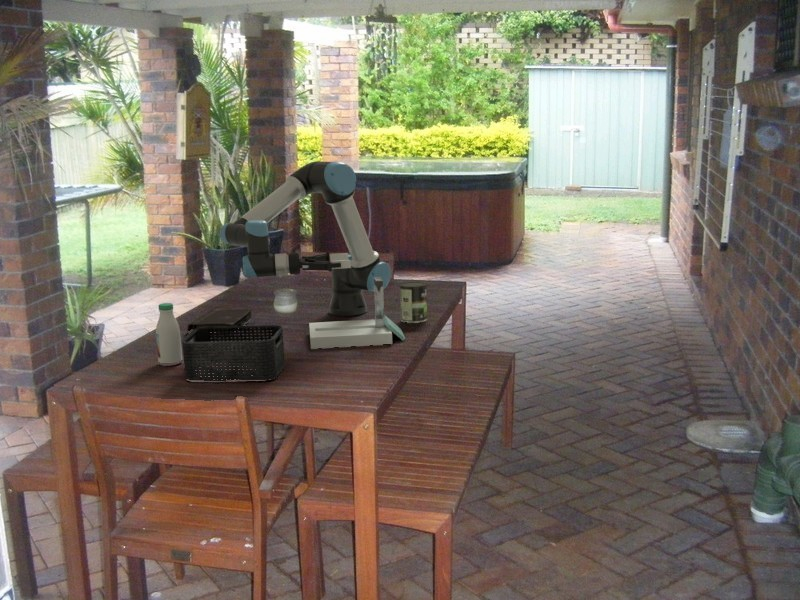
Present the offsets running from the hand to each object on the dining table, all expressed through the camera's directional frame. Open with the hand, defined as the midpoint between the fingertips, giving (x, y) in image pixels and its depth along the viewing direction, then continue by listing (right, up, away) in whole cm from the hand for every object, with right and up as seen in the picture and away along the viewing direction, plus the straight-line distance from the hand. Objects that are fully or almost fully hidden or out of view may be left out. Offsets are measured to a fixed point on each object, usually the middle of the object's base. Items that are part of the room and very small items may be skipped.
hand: (349, 260), depth 318 cm
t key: (+10, -26, +7) cm, 29 cm away
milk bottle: (-58, -35, -19) cm, 70 cm away
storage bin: (-34, -37, -32) cm, 60 cm away
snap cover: (+15, -24, +7) cm, 29 cm away
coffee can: (+23, -22, +31) cm, 44 cm away
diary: (-50, -25, +30) cm, 63 cm away
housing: (0, -28, +6) cm, 28 cm away
